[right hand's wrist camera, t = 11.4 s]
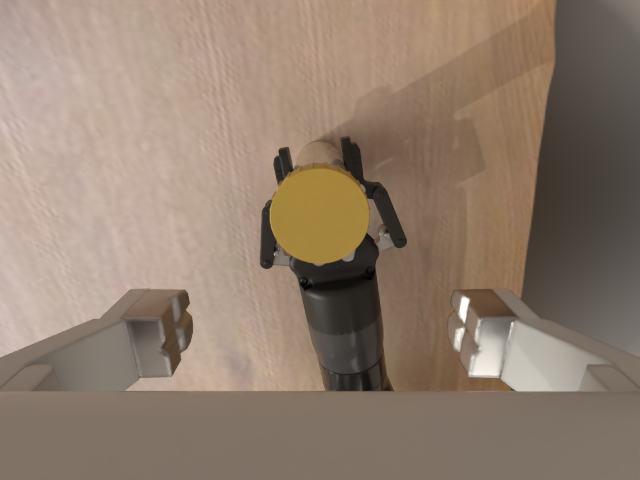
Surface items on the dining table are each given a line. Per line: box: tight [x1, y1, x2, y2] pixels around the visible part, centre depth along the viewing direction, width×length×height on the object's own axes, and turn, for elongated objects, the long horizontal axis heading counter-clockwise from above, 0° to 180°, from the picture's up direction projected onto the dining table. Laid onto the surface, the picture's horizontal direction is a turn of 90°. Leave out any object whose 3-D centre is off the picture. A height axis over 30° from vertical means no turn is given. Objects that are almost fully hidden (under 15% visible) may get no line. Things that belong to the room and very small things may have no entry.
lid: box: [269, 162, 370, 264], centre depth 19 cm, size 6×5×2 cm
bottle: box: [293, 141, 347, 171], centre depth 28 cm, size 5×5×18 cm
